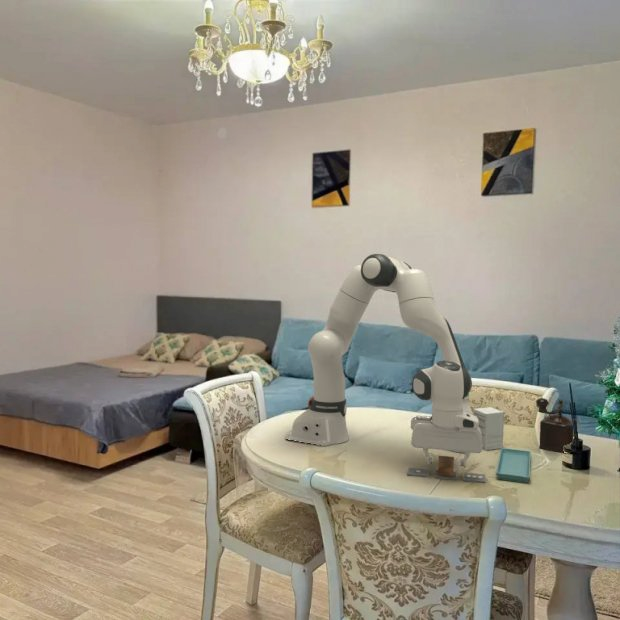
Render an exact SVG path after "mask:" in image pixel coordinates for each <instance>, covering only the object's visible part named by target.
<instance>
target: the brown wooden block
mask: <svg viewBox="0 0 620 620" xmlns="http://www.w3.org/2000/svg"><path fill="white" fill-rule="evenodd" d="M437 457H438V458H437V470H438V476H446V477H454V471H455V457H454V456H449V455H448V456H447V455H437Z"/></svg>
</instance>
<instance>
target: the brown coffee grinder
mask: <svg viewBox="0 0 620 620" xmlns="http://www.w3.org/2000/svg"><path fill="white" fill-rule="evenodd" d="M563 402H564V401H563V399H559V400H558V404H557V405H558V407H557V408H556V409H555V410H553V411H548V410H547V407H548V406H549V405H550V404H549V400H548V399H547V398H543V397H541V398H538V399H536V400H535V403H536V406H537V407H538V410H537V411H538V412H539V414H540V413H541V414H547V416H545V417H543V419H542V420H540V422H539V424H540V425H539V447H538V448H539V449H541V450H546V451H550V452H554V453H560V454H565V453H564V451H563V446H564V445H567V444H570V443H571V442H572V440H573V437H574V431H573V423H572V419H573V418H569V417H568V416H565V415H563V413H562V412H563V411H562V410H563V407H564V403H563ZM575 420H576V421H577V432H578V433H579V420H578V419H575Z"/></svg>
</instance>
